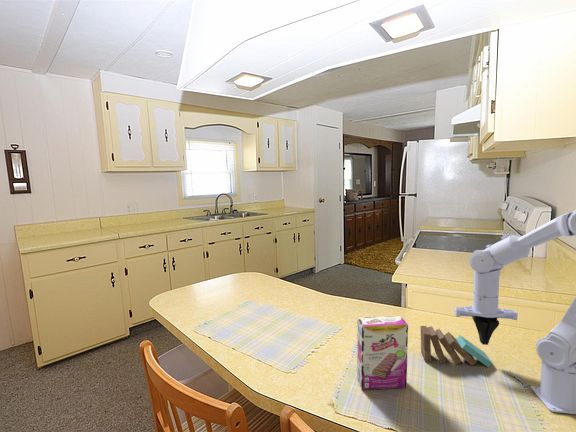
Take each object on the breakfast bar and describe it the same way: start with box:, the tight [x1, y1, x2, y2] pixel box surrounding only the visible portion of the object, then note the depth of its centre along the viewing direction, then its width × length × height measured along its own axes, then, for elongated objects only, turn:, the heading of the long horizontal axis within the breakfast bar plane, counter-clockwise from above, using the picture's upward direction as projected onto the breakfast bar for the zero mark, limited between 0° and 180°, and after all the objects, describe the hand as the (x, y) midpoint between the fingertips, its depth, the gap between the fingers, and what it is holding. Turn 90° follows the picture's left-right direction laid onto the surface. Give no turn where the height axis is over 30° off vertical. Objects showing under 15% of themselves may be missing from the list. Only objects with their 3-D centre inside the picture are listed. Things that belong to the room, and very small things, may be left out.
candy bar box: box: [356, 315, 409, 391], centre depth 77 cm, size 11×5×16 cm, turn 92°
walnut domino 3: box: [434, 328, 462, 365], centre depth 87 cm, size 2×5×8 cm
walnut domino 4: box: [444, 331, 477, 367], centre depth 86 cm, size 2×5×8 cm
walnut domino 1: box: [419, 325, 432, 363], centre depth 88 cm, size 2×5×8 cm, turn 168°
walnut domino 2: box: [427, 326, 447, 364], centre depth 87 cm, size 2×5×8 cm, turn 168°
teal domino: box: [456, 334, 493, 368], centre depth 85 cm, size 2×5×8 cm
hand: (483, 342), depth 85 cm, fingers closed
